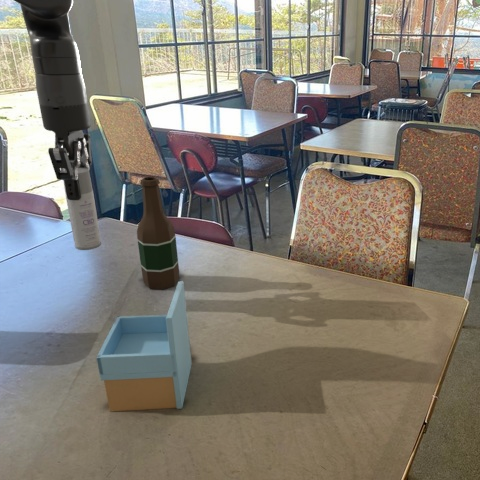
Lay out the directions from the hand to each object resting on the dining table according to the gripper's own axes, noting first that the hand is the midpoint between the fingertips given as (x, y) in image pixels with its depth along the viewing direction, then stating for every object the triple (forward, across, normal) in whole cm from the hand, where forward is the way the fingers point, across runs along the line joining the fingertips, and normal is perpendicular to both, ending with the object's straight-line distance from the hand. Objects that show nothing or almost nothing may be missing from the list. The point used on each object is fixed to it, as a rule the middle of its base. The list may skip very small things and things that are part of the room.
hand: (79, 194), depth 90 cm
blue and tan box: (+23, +27, +16) cm, 39 cm away
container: (+11, 0, 0) cm, 11 cm away
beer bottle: (+23, -8, +11) cm, 27 cm away
